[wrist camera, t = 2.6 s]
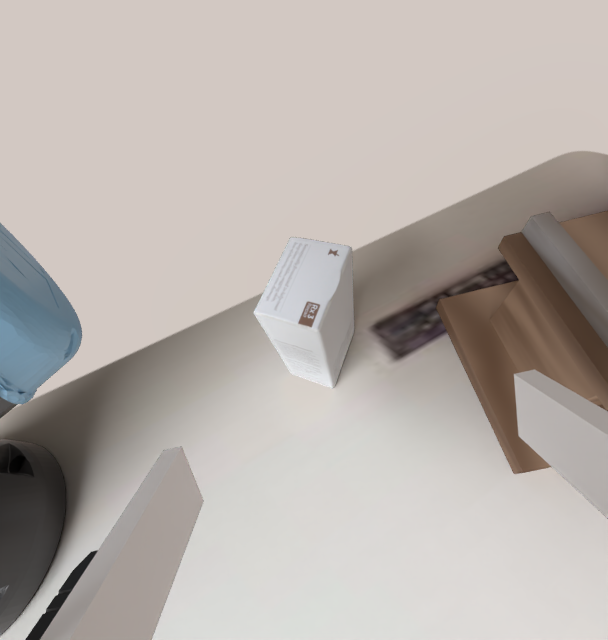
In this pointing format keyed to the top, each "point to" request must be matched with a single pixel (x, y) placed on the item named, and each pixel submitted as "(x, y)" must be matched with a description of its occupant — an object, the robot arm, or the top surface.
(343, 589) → the top surface
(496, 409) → the display stand
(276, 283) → the skincare box
